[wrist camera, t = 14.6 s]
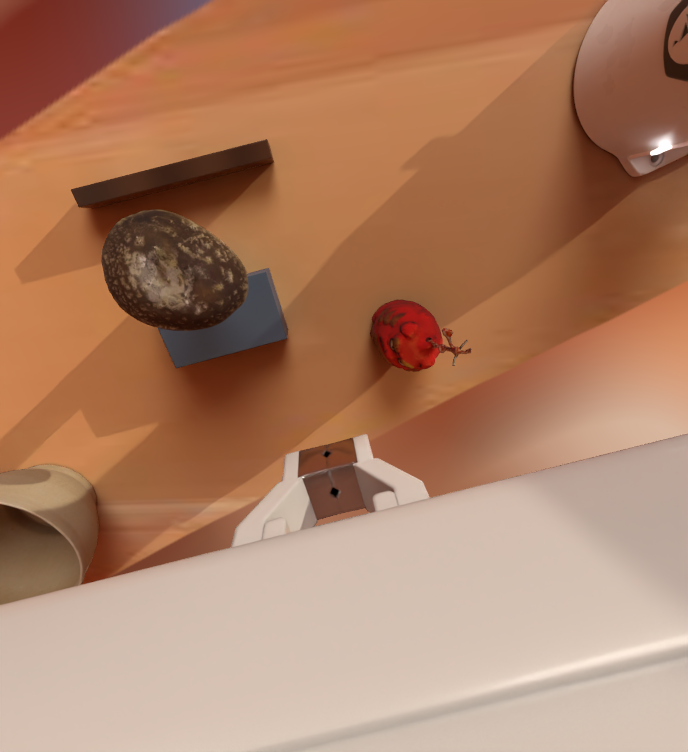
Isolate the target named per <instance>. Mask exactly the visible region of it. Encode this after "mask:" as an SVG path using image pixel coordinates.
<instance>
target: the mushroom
mask: <svg viewBox="0 0 688 752" xmlns="http://www.w3.org/2000/svg"><path fill="white" fill-rule="evenodd" d="M102 266H103V271H104V276H105V281H106V283H107V285H108V289H109V291H110V293H111V294H112V296H113V298H114V300H115V301H116V302H117V303H118V305H119V306H120V307H121V308H122V309H123V310H124V311H125V312H126V313H128V314H129V315H131V316H132V317H134V318H135V319H137V320H139V321H141V322H143V323H145V324H148V325H151V326H154V327H158V328H162V329H166V330H173V331H192V330H200V329H206V328H209V327H213V326H215V325H217V324H220V323H222V322H223V321H225V320H226V319H227V318H228V317H229V316H230V315H232V314H233V313H234V312H235V311H236V310H237V309H238V308H239V307H240V306H241V305H242V304H243V303H244V302H245V300H246V297H247V294H248V278H247V272H246V269H245V267H244V265H243V264H242V262H241V261H240V259H239V258H238V257H237V255H236V254H235V253H234V252H233V251H232V250H231V249H230V248H229V247H228V246H227V245H226V244H225V243H223V242H222V241H221V240H220V239H218V238H217V237H216V236H214V235H213V234H211V233H210V232H209V231H207V230H205V229H204V228H203V227H201V226H199V225H197V224H196V223H194V222H193V221H191V220H189V219H187V218H185V217H183V216H181V215H178V214H175V213H173V212H169V211H165V210H156V209H155V210H147V211H141V212H138V213H136V214H133V215H129V216H127V217H125V218H122V219H121V220H120V221H118V222H117V223H116V224H115V225H114V227H113V228H112V229H111V231H110V233H109V234H108V236H107V238H106V241H105V243H104V246H103V249H102Z"/></svg>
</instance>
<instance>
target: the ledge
mask: <svg viewBox="0 0 688 752" xmlns="http://www.w3.org/2000/svg"><path fill="white" fill-rule="evenodd" d="M272 162H274V160H273V156H272V153H271V149H270V145H269V143H268V140H267V139H266V140H262V141H259V142H255V143H251V144H247V145H243V146H239V147H235V148H231V149H227V150H223V151H219V152H216V153H212V154H208V155H204V156H200V157H196V158H192V159H188V160H184V161H180V162H176V163H173V164H169V165H165V166H161V167H157V168H153V169H149V170H145V171H141V172H137V173H133V174H130V175H126V176H122V177H118V178H114V179H110V180H106V181H102V182H98V183H94V184H91V185H87V186H83V187H79V188H75V189H71V191H72V193H73V195H74V198H75V200H76V202H77V204H78V206H79V207H81V208H97V207H101V206H105V205H109V204H113V203H116V202H120V201H124V200H128V199H132V198H136V197H140V196H144V195H148V194H152V193H155V192H159V191H163V190H167V189H171V188H175V187H179V186H183V185H187V184H191V183H194V182H198V181H202V180H206V179H210V178H214V177H218V176H222V175H226V174H230V173H233V172H237V171H241V170H245V169H249V168H253V167H257V166H261V165H265V164H269V163H272Z"/></svg>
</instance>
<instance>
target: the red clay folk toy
mask: <svg viewBox="0 0 688 752" xmlns="http://www.w3.org/2000/svg"><path fill="white" fill-rule="evenodd" d="M372 322H373V327H372V329H371V332H370V334H371V337H372V338H373V341H374V343H375V345H376V346H377V348H378V349H379V352H380V354H381V355H382V357H383V359H384V360H385V361H386V362H387V363H389V364H392V365H393V366H395V367H397V368H403V369H404V370H406V371H420V370H422V369H427V368H429V367H431V366H432V365H434V363H435V358H436V357H437V356H438V354H439V353H444V352H445V351H446V350H447V351H450V352H452V353H453V354H454V355H455V357H454V359H453V366H455V360H456V357H457V356H458V355H459V354H467V353H471V348H469V349H468V350H466V351H462V350H460V349H461V348H462V347H463V345H464V344H465V343H466V342H467V340H466V341H465V342H464V343H463V344H462V345H461V346H460V347H459V348H458V347H454V346H453V345H452V343H451V336H452V334H453V332H452V330H450V329H448V328H443V330H442V332H443V335H444V336H445V337H446V338H447V340H448V342H449V345H450V347H451V348H450V347H446V346H445V345H443V344H442V336H441V332H440V329H439V327H438V324H437V322H436V320H435V318H434V316H433V315H432V314H431V313H430V312H429V311H428V310H427V309H425V308H424V307H423V306H421V305H419V304H417V303H415V302H412V301H405V300H394V301H391V302H389V303H386V304H384V305H383V306H381V307H379V309H378V310H377V311H376V312H375V314H374V315H373V317H372Z"/></svg>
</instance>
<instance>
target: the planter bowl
mask: <svg viewBox="0 0 688 752" xmlns="http://www.w3.org/2000/svg"><path fill="white" fill-rule="evenodd" d="M98 531H99V525H98V515H97V510H96V495H95V492H94V489H93V488H92V486H91V484H90V483H89V482H88V481H87V480H86V479H85V478H84V477H83V476H81V475H80V474H78V473H77V472H75V471H73V470H71V469H68V468H65V467H62V466H57V465H38V466H34V467H30V468H28V469H20V470H13V471H8V472H3V473H0V605H2V604H6V603H10V602H14V601H18V600H22V599H26V598H30V597H34V596H38V595H42V594H46V593H50V592H54V591H58V590H62V589H66V588H70V587H74V586H78V585H82V583H83V580H84V577H85V574H86V572H87V570H88V567H89V565H90V563H91V561H92V558H93V556H94V553H95V549H96V545H97V541H98Z"/></svg>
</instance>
